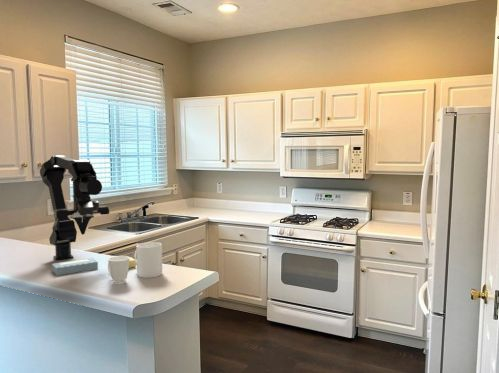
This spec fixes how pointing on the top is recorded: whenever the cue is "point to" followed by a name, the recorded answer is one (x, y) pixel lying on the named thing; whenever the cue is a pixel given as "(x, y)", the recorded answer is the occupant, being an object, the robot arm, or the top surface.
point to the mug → (149, 259)
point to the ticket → (74, 266)
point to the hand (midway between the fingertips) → (82, 234)
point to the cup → (118, 268)
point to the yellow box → (132, 262)
